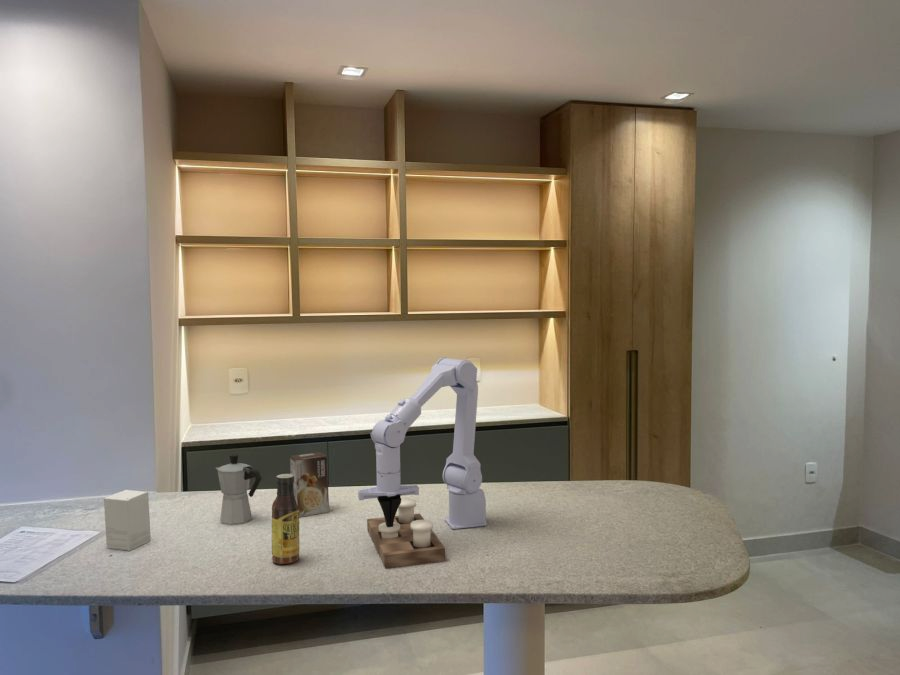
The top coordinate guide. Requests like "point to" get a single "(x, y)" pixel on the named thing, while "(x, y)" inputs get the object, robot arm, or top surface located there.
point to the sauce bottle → (285, 522)
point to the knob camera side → (421, 533)
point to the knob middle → (389, 530)
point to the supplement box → (127, 520)
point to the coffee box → (310, 483)
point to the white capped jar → (406, 510)
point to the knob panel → (404, 545)
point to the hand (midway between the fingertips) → (389, 526)
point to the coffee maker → (236, 491)
